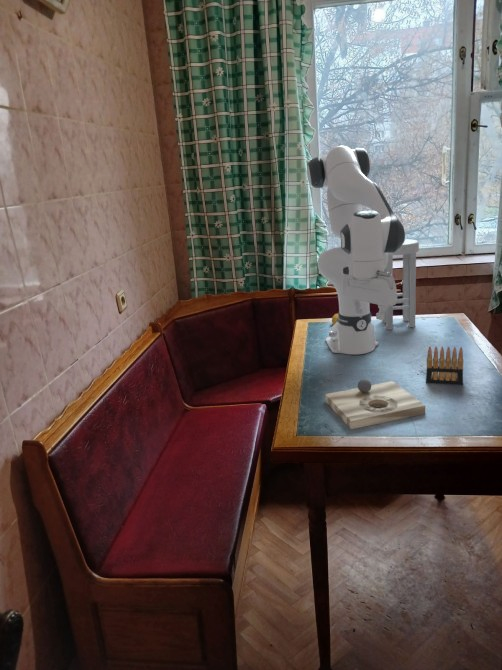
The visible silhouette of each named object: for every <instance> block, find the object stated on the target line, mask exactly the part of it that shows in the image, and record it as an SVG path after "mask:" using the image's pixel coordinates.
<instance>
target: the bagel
mask: <svg viewBox="0 0 502 670" xmlns="http://www.w3.org/2000/svg"><path fill="white" fill-rule="evenodd" d="M338 314H339V313H334V315H333V316H332V317H331V324H332V326H334V325H335V324H336V323H337V322H338V321H337V320H338Z"/></svg>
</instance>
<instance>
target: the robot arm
mask: <svg viewBox="0 0 502 670" xmlns="http://www.w3.org/2000/svg"><path fill="white" fill-rule="evenodd" d="M371 164H372V161H371V157H370V154H369V153H368V150H366V149H365V148H362V147H354V149H353V148H352V149H351V148H350V147H348V146H346V145H339V146H334V147H333V148H332V149H330V150H329V152H328V153H327V154H324V155H321V156H320V157H319V156H316V157H314V158H312V159H310V160H309V161H308V163H307V167H306V175H307V180H308V181H309V183H310V185H311V186H312V187H313V188H315V189H323V188H325V187H326V188H327V190H326V202H327V203H326V204H327V211H328V217H329V222H330V227H331V232H332V234H333V235H334V236H335V237H336V238H339V239H340V246H339V247H333V248H330V249H327V250H324V251H322V252H321V253H320V255H319V256H318V258H317V259H318V260H317V269H318V272H319V274H320V275H322V277H323V278H325V279H326V280H328V281H329V282H330V283H331V284H332V285H333V287H334V289H335V290H336V293H337V299H338V310H339V311H338V312H337V314H338V320H337V321H338V322H337V323H336V324H335V325H334V326H333V325H332V326H331V329H330V330H329V331H328V337H326V338H325V342H326V344H327V346H328V347H329V349H330V351H331V353H335V354H343V355H344V354H345V355H364V354H368V353H371V352H373V351H374V350H375V348H376V347H378V346H379V341H377V340H376V333H375V325H374V324H373V323H372V312H371V311H370V306H371V305H370V304H374V305H377V307H378V309H379V310H378V312H376V313H375V316H376V317H375V318H376V320H378V321H382V320H383V319H384V313H385V311H386V309H387V307H388V306H392V305H393V306H396V304H398V303H397V299H398V296H397V293H398V291H397V284H396V282H395V277H394V276H392V275H391V273H389V272H384V269H385V268H386V266H387V264H388V253H394V252H396V251H397V250H398V249H399V248H400V247H401V246H402V245H403V243H404V241H405V239H406V233H405V227H404V225H403V223H402V222H401V220H400V219H399V218H398V217H397V216H396V214H395V212H394V211H393V209H392V207H391V206H390V203H389V202H388V200H387V198H386V196H385V195H384V193H383V191H382V190H381V188H380V187H379V184H377V183H376V182H374V181H372V180H370V179H369V178H368V175H369V174H370V171H371V167H372V165H371ZM360 205H361V206H365V207H367V208H369V209H371V210H369V209H367V210H366V209H365V210H360Z"/></svg>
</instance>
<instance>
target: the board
mask: <svg viewBox="0 0 502 670" xmlns="http://www.w3.org/2000/svg"><path fill="white" fill-rule="evenodd" d="M324 395H325V403H326V404H327V405H328V406H330V408H331V409H332V410H333V411H334V413H336V414H337V415H338V417H339V418H340V419H341V420H342V421H343V422H344V423H345V424H346V425H347V427H348V428H349V429H350V430H354V429H361V428H364V427H368V426H374V425H377V424H382V423H388V422H392V421H396V420H401V419H406V418H410V417H415V416H420V415H424V414H426V405H425V404H424V403H423V402H422V401H420V400H419V399H418V398H416V397H414V396H413V394H411V393H410V392H408V391H407V390H405V389H404V388H403V387H401V386H400V385H399V384H397V383H396V382H394V380H389V381H384V382H380V383H375V384H371V389H370V391H368V392H366V393H363V392H361V391H360V390H359V389H358V387H354V388H351V389H346V390H340V391H335V392H330V393H325V394H324Z"/></svg>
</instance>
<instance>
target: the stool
mask: <svg viewBox="0 0 502 670" xmlns="http://www.w3.org/2000/svg"><path fill="white" fill-rule="evenodd" d="M419 251H420V242H419V241H418V240H416V239H410V238H405V241H404V243H403V245H402V246H401V247H400V248H399V249H398V250H397V251H396V252H394V253H388V264H387V266H386V268H385V269H384V272H389V273H391V275H392V276H393V275H394V274H393V273H394V269H393V266H394V265H393V264H394V262H393V260H394V259H393V258H394V257H393V256H402V292H397V297H402V298H397V303H396V304H402V305H392V306H388V307H387V309H386V311H385V313H384V319H383V320H381V323H382V324H385V325H386V327H385V328H386V330H393V329H394V320H393V319H394V310H397V311H398V310H402V321H404V322H408V324H407V325H408V327H409V328H410V327H413V328H416V306H417V305H416V298H417V297H416V290H417V288H416V284H417V276H416V275H417V253H418V252H419ZM393 277H394V276H393Z"/></svg>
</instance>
